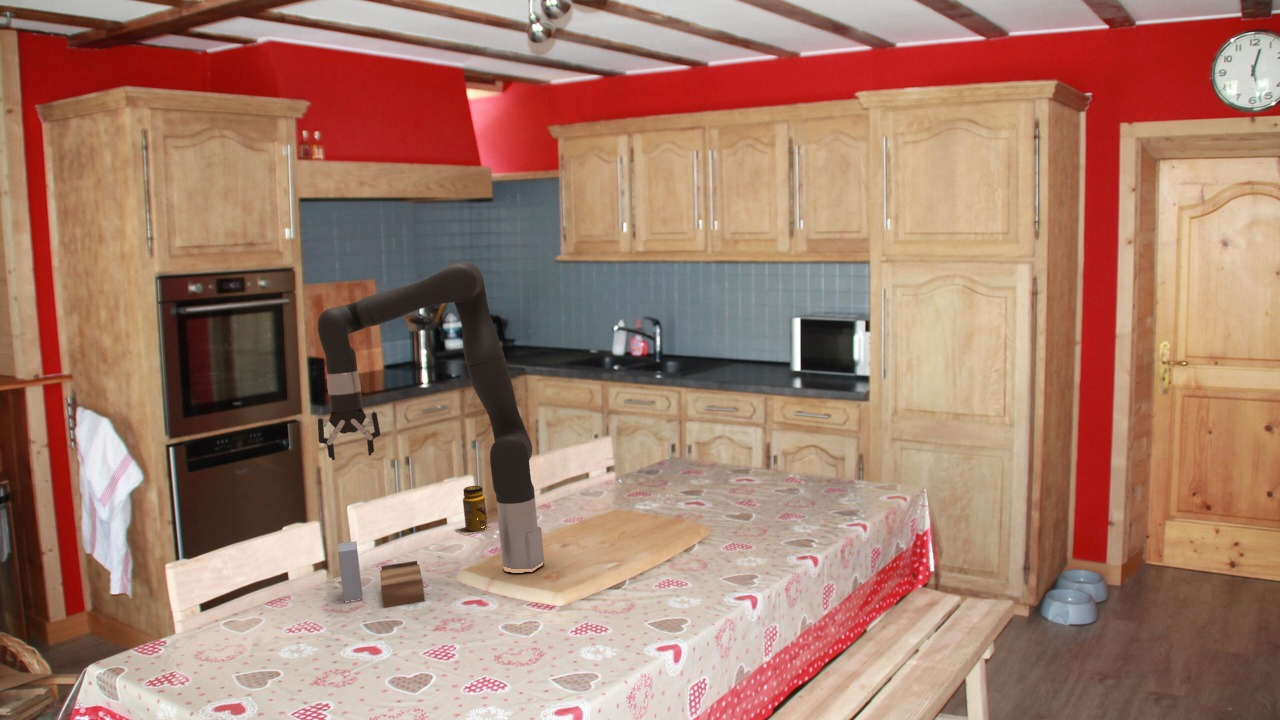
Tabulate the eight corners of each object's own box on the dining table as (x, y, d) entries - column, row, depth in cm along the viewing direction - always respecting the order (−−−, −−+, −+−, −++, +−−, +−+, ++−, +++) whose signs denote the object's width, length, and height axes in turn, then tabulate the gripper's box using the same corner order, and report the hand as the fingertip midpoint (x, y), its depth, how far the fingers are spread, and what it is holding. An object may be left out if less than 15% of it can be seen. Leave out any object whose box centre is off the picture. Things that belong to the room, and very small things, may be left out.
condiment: (493, 529, 290) (489, 487, 289) (465, 535, 285) (460, 493, 284) (482, 524, 296) (477, 483, 295) (454, 530, 291) (450, 488, 290)
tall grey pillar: (344, 593, 244) (338, 543, 243) (362, 590, 245) (356, 541, 244) (344, 603, 237) (338, 551, 236) (362, 600, 238) (356, 549, 237)
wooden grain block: (381, 580, 251) (378, 557, 250) (419, 575, 253) (416, 551, 253) (383, 607, 232) (380, 582, 231) (424, 600, 234) (421, 575, 234)
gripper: (312, 396, 244) (320, 464, 245) (375, 389, 247) (382, 456, 249) (314, 392, 251) (321, 458, 253) (374, 385, 254) (382, 450, 256)
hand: (352, 457), depth 251 cm, fingers open, 8 cm apart
